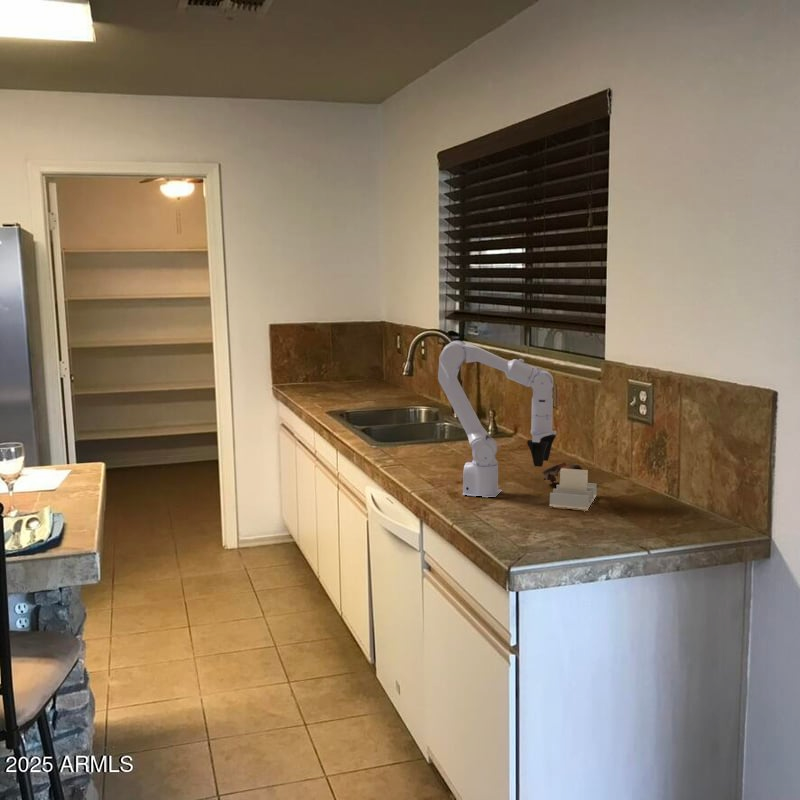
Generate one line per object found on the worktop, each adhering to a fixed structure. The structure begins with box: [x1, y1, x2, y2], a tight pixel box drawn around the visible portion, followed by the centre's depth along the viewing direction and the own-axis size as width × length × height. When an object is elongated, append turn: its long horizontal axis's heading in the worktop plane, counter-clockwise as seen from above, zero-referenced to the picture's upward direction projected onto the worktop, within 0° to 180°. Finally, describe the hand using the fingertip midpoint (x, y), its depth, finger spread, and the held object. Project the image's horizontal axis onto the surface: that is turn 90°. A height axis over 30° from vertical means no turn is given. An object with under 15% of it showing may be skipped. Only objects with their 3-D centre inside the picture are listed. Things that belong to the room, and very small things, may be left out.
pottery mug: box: [542, 461, 584, 483], centre depth 252 cm, size 12×10×8 cm
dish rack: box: [549, 482, 598, 511], centre depth 233 cm, size 10×15×4 cm, turn 159°
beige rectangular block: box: [559, 468, 589, 491], centre depth 233 cm, size 7×2×8 cm, turn 69°
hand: (541, 463), depth 239 cm, fingers open, 7 cm apart
